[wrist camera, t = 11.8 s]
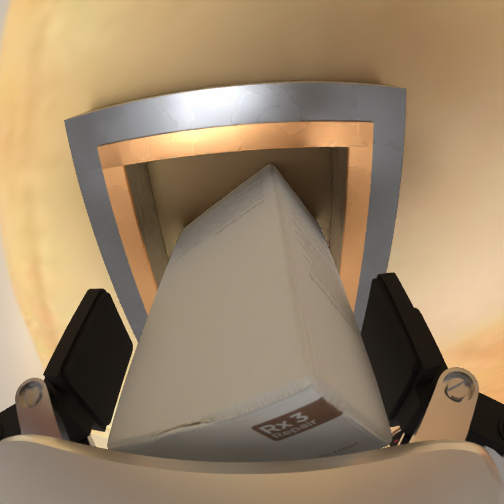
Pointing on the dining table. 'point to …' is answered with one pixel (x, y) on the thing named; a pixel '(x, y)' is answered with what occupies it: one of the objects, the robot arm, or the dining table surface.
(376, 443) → the skincare box
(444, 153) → the dining table surface
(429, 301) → the dining table surface
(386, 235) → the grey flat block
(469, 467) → the robot arm
